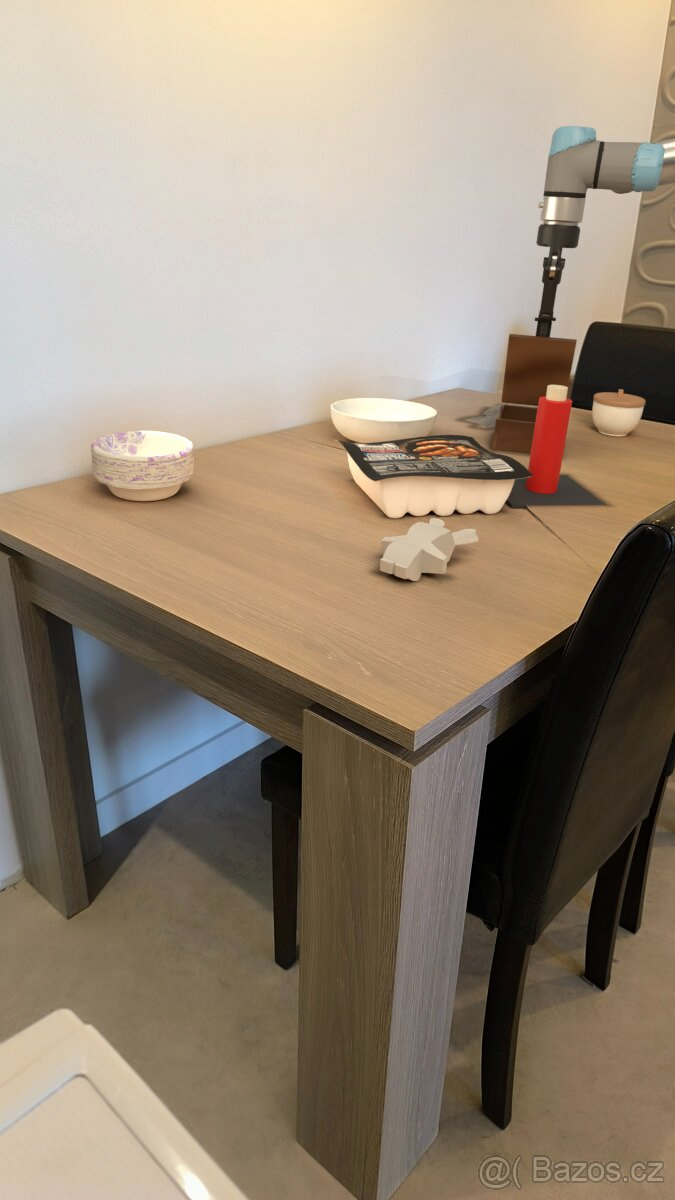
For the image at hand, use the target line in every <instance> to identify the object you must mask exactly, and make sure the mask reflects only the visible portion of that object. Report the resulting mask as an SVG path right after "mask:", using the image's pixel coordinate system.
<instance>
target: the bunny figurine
mask: <svg viewBox="0 0 675 1200" xmlns="http://www.w3.org/2000/svg"><path fill="white" fill-rule="evenodd" d="M445 525H446V524H445V521H444V520H443V519H441V518H437V517H432V518H430V519H429V521H428V522H424V521H418V522H415V523H413V524H412V525H411V526H410V527H409V529H408V531H407V532H406V534H404V535H403V534H402V535H395V536H385V537H383V538H382V539H381V550H380V551H381V552H380V553H381V555H383V556H382V558H380V559H379V571H381V572H383V573H386V574H389V575H394V576H395V577H398V578H401V579H403V580H409V581H412V582H418V581H419V580H420V578H421V576H422V574H436V575H437V574H440V575H443V574H446V573H447V568H448V567H447V565H448V563H449V562H450V559H451V557H452V555H453V552H454V550H455V547H456V546H459V545H467V544H474V543H476V542H479V539H480V537H479V534H478V532H477V529H475V528H462V529H459V530H457V531H454V532H452V531H451V530H450V529H448V528H446V527H444V526H445Z"/></svg>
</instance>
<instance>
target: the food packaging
mask: <svg viewBox="0 0 675 1200" xmlns="http://www.w3.org/2000/svg"><path fill="white" fill-rule="evenodd" d="M334 441H336V442H339V443H340V445H342V447H343V448H344V450H345V451H346V454H347V461H348V468H349V471H350V473H351V475H352V478H353V480H354V482H355V484H357V485H358V487H359V488H360V489H361V490H362V491H363V492H364V493H365V494H366V495H367V496H368V497H369V499H370V500H372V502H373V503H374V504H375V505H376V506H377V507H378V508H379V509H380V510H381V511H382V513H384V515H385V516H387V518H390V519H396V520H397V519H400V518H402V517H404V516H405V515H406V514H407V513H408V514H410V515H411V516H414V517H423V516H426V515H428V514H429V513H430V512H431V511H432V512H433V513H434V514H435V515H437V516H439V517H448V516H451V515H452V514H453V513H454V511H456V512H458V513H460V514H462V515H471V514H473V513H475V512H477V511H480V512H482V513H483V514H486V515H494V514H497V513H499V512H500V511H501V510H502V508H503V507H504V505H505V503H506V502H505V501H506V500H507V498H508V497H509V495H510V492H511V490H512V487H513V484H514V481H515V479H522V478H527V477H532V476H533V475H532V474H531V473H530V472H529V471H528V468H526V466H524V464H522V463H521V462H519V461H518V460H516V459H515V458H513V457H511V456H508V455H506V454H502V453H496V452H493V451H491V450H488V449H486V448H485V447H484V446H482V445H481V444H480V443H479V442H478V441H477V440H476V439H474V437H473V436H467V435H463V434H462V435H459V434H440V435H439V434H437V435H427V436H424V437H416V438H408V439H401V440H393V441H385V442H374V443H358V442H351V441H350V442H349V441H343V440H338V439H334Z"/></svg>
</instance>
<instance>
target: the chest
mask: <svg viewBox="0 0 675 1200" xmlns="http://www.w3.org/2000/svg"><path fill="white" fill-rule="evenodd" d="M500 404H501V406H500V409H499V412H498V415H497V418H496V423H495V428H494V431H493V440H492V446H491V450H492V451H500V452H508V453H515V454H516V453H517V454H526V455H530V454H531V448H532V441H533V435H534V429H535V422H536V416H537V409H538V406H530V405H520V404H510V403H508V404H507V403H500Z"/></svg>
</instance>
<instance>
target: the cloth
mask: <svg viewBox="0 0 675 1200" xmlns="http://www.w3.org/2000/svg"><path fill="white" fill-rule="evenodd" d="M501 404H502V403H501V402H500V403H496V404H495V405H493V406H492V407H489V408H488V409H486V410H485V411H484V412H483V413H482V416H477V417H472V418H467V419H465V421H477V422H476V424H479V425H483V426H486V427H485V429H495V423H496V418H497V415H498V412H499V409H500V406H501ZM506 404H509V403H506Z"/></svg>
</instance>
